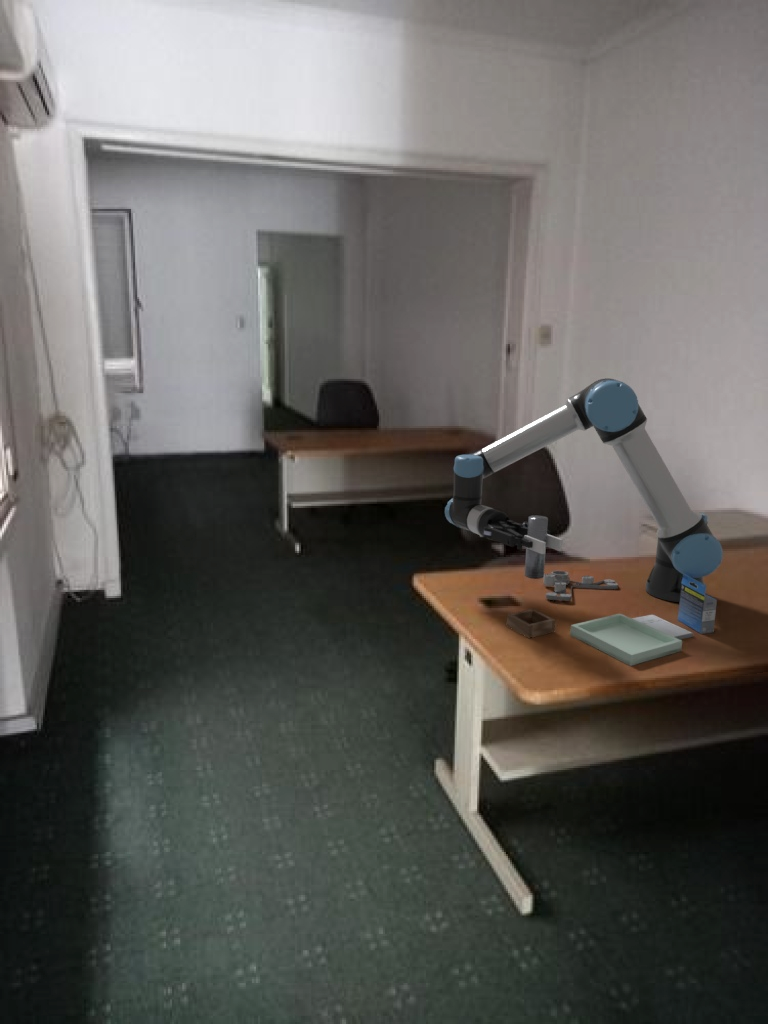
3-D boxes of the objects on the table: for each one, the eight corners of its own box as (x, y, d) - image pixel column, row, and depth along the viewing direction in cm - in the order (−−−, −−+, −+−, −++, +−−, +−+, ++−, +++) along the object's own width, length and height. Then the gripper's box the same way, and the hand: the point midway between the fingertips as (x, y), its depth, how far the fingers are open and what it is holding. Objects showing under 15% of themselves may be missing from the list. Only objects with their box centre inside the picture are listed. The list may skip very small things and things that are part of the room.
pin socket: (532, 620, 172) (533, 608, 171) (554, 631, 165) (555, 620, 164) (506, 626, 168) (507, 614, 167) (528, 638, 161) (529, 626, 160)
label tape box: (714, 633, 166) (721, 584, 163) (699, 634, 165) (706, 585, 162) (690, 619, 174) (696, 572, 171) (675, 620, 173) (681, 573, 170)
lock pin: (535, 571, 166) (539, 514, 163) (547, 577, 162) (552, 518, 159) (520, 574, 164) (524, 516, 161) (533, 579, 160) (537, 521, 157)
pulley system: (517, 593, 193) (559, 606, 181) (518, 576, 192) (560, 589, 180) (582, 578, 209) (625, 590, 197) (583, 563, 208) (626, 574, 196)
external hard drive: (666, 644, 160) (627, 624, 171) (692, 638, 164) (652, 619, 175) (667, 638, 160) (628, 618, 171) (693, 632, 163) (653, 613, 174)
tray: (618, 622, 171) (619, 613, 170) (681, 651, 156) (682, 640, 155) (570, 635, 163) (570, 625, 163) (630, 666, 148) (631, 655, 147)
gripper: (515, 533, 181) (580, 557, 162) (460, 541, 173) (521, 568, 153) (516, 505, 180) (582, 526, 160) (461, 512, 171) (523, 535, 152)
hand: (552, 546), depth 157 cm, fingers closed on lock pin, 4 cm apart
